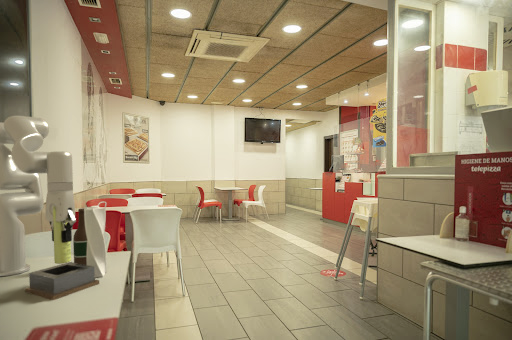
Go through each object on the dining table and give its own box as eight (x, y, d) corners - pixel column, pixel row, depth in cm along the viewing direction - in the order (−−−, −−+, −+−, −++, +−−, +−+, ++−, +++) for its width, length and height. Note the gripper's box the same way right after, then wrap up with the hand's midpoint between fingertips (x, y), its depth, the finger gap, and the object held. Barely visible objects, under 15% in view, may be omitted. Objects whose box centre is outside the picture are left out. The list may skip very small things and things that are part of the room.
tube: (72, 262, 112) (70, 205, 112) (54, 265, 109) (52, 206, 109) (70, 259, 117) (69, 203, 117) (53, 261, 114) (52, 205, 114)
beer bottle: (75, 264, 142) (73, 208, 141) (95, 262, 145) (93, 207, 144) (73, 269, 134) (71, 210, 134) (94, 266, 138) (92, 208, 137)
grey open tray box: (24, 292, 110) (24, 273, 110) (71, 277, 124) (71, 260, 124) (53, 300, 102) (52, 280, 102) (99, 283, 117) (98, 266, 116)
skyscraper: (110, 271, 131) (108, 200, 130) (106, 277, 123) (104, 202, 123) (88, 273, 129) (86, 201, 128) (83, 279, 121) (81, 203, 121)
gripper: (34, 188, 114) (36, 241, 114) (64, 188, 106) (66, 245, 106) (56, 187, 120) (58, 237, 121) (86, 187, 112) (87, 241, 112)
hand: (61, 240), depth 113 cm, fingers closed on tube, 4 cm apart
